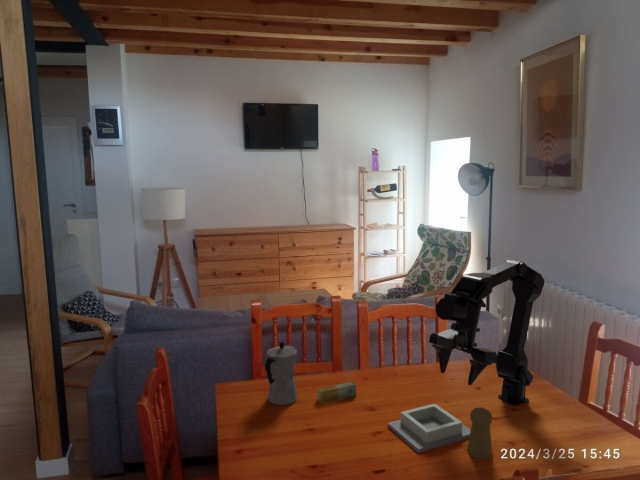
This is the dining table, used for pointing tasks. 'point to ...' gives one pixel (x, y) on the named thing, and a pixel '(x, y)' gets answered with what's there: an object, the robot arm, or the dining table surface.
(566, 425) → the dining table surface
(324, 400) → the medication box
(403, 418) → the socket stand
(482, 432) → the cork
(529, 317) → the robot arm
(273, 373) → the coffeepot
